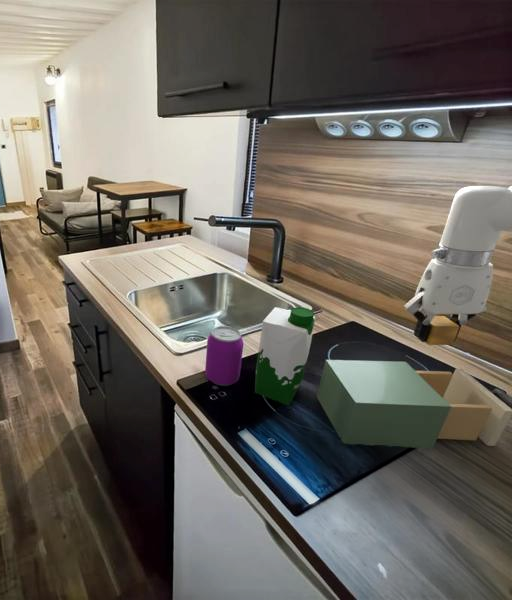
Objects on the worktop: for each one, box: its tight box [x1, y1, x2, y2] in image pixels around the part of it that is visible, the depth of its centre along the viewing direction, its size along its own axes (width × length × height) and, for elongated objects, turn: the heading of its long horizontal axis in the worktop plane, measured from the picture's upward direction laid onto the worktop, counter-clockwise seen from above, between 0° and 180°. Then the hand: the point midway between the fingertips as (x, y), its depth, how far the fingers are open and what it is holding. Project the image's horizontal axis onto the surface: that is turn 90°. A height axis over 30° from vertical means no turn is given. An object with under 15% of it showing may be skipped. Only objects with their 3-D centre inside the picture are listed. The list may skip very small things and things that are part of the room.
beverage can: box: [204, 325, 244, 387], centre depth 82 cm, size 8×8×12 cm
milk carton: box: [254, 306, 316, 407], centre depth 75 cm, size 9×9×20 cm
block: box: [425, 315, 459, 346], centre depth 75 cm, size 4×4×4 cm
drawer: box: [415, 368, 512, 447], centre depth 66 cm, size 19×11×8 cm, turn 83°
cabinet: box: [316, 359, 451, 450], centre depth 68 cm, size 15×13×10 cm
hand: (433, 337), depth 76 cm, fingers closed on block, 4 cm apart
